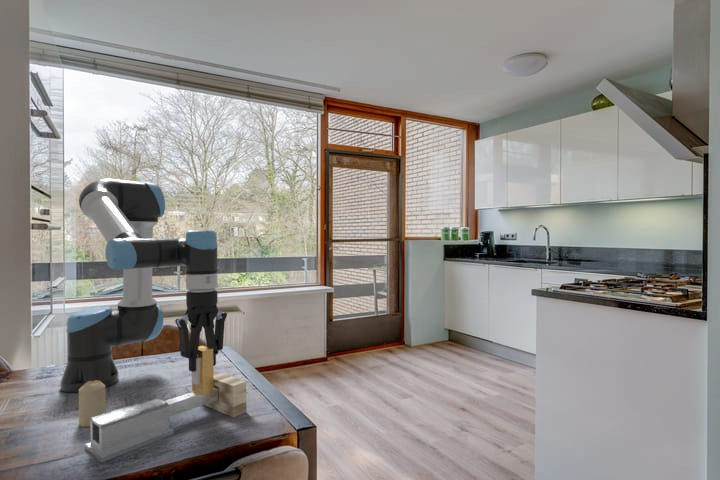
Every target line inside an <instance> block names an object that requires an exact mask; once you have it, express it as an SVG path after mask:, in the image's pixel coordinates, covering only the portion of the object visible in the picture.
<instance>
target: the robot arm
mask: <svg viewBox="0 0 720 480" xmlns="http://www.w3.org/2000/svg"><path fill="white" fill-rule="evenodd" d="M78 203H79V204H78V205H79V208H80V210H81V212H82V213H83V215H84V216H85V217H86V218H88V219H89V220H92V222H93V223H94V224H95V226H96V227H97V230H98V231H99V232H100V233H101V235H102V237H103V238H104V240H105V241H106V245H105V246H106V247H105V260H106V264H107V266H108V267H109V268H111V269H113V270H123V271H122V272H123V274H122V275H123V278H122V280H123V281H122V283H123V285H122V287H123V288H122V299H121V300H119V302H117V309H116V310H113V309H112V307H110V306H99V307H98V306H96V307H91V308H87V309H83V310H79V311H76V312H74V313H72V314H71V315H69V316H68V318H67V324H66V345H67V350H66V351H67V352H66V353H67V355H66V356H67V361H66V362H67V363H66V365H65V368H64V371H63V375H62V377H61V380H60V390H61V392H64V393H79V389H80V388H81V387H82V386H83V385H84V384H85V383H87V382H88V381H95V380H98V381H100V382H102V383H103V384H104V385H105V388H107V387H110V386H111V385H115V383H117V382H118V381H119V371H118V368H117V366H116V363H115V360H114V359H113V353H112V351H113V348H114V347H119V346H125V345H131V344H134V343H135V344H136V343H144V342H148V341H151V340H154V339H156V338H157V337H158V336H159V335H160V334H161V332H162V329H163V327H164V326H163V325H164V314H163V312H164V311H163V308H162V307H161V306H160V305H158V304H157V300H156V299H155V298H154V297H153V295H152V294H153V268H166V267H168V268H170V267H185V269H186V270H185V274H186V275H185V278H186V279H185V289H186V290H187V292H186V294H185V297H186V298H185V301H186V302H185V303H186V312H185V314H184V316H182V317H180V318H176V319H175V320H174V323H175V325H176V327H177V329H178V330H177V331H178V338H179V348H180V349H179V351H180V357H182V358H185V359H188V370H189V372H190V373H191V384H192V383H194V384H197V385H199V384H200V358H197V354H198V346H199V344H200V337H201V332H202V329H204V336H205V341H206V342H205V343H206V347H209V348H213V367H215V366H216V364H217V355H218V354H219V351H222V350H223V349H224V338H225V335H224V334H225V325H226V324H225V322H226V319H227V316H228V313H227V312H224V311H220V310H219V308H218V303H219V302H218V299H219V298H218V290H216V289H217V288H218V246H219V245H218V239H217V237H218V236H217V233H216V232H215V230H205V229H204V230H187V232H186V233H185V238H183V237H178V238H177V237H176V238H172V237H171V238H153V237H154V227H155V226H156V225H157V224H158V223H159V218H161V217H163V216H164V215H165V211H166V200H165V195H164V192H163V190H162V189H161V187H160V186H159V185H158V184H157V183H153V182H148V181H144V180H143V181H138V180H136V181H135V180H125V179H114V178H103V179H102V178H101V179H98V180H95V181H93V182H91V183H89V184H87V186H85V187H84V188H83V189H82V191H81V192H80V194H79V198H78ZM214 320H215V321H214ZM214 322H215V323H214ZM189 323H190V328H189V327H188V325H189ZM189 330H190V333H189ZM214 371H215V370H214V369H213V378H214Z"/></svg>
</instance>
